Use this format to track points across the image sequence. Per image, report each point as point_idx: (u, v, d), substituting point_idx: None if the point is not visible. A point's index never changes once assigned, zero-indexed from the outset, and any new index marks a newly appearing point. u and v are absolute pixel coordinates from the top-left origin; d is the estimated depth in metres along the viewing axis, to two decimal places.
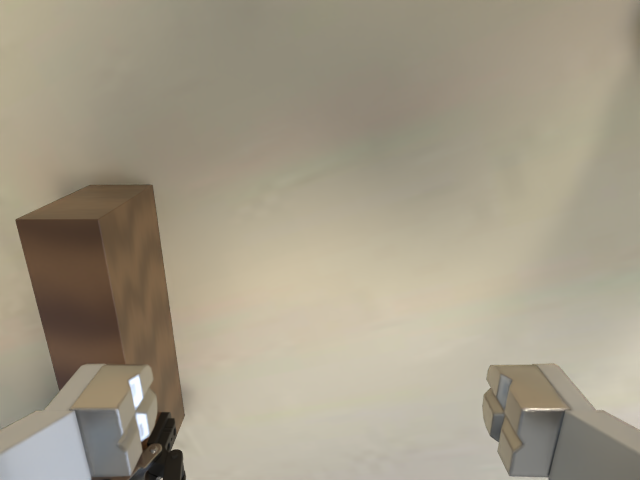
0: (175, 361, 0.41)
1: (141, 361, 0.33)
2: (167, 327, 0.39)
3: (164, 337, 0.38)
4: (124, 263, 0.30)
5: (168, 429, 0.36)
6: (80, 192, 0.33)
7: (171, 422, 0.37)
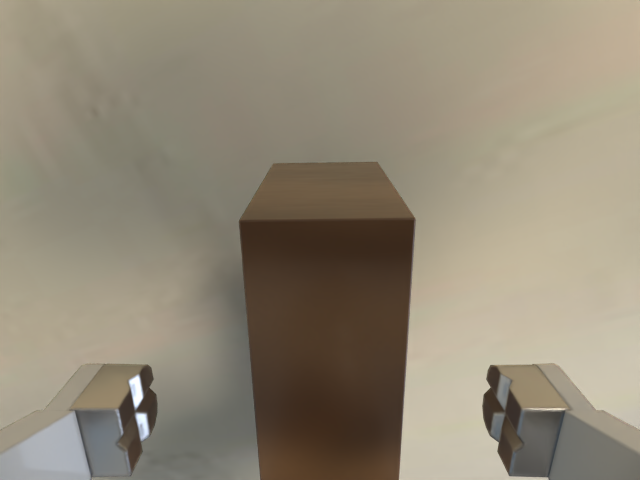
0: None
1: None
2: None
3: None
4: None
5: None
6: (279, 173, 0.19)
7: None
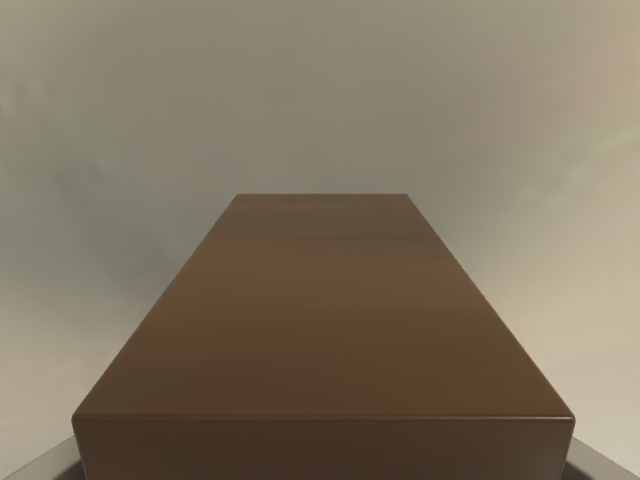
0: None
1: None
2: None
3: None
4: None
5: None
6: (241, 218, 0.11)
7: None
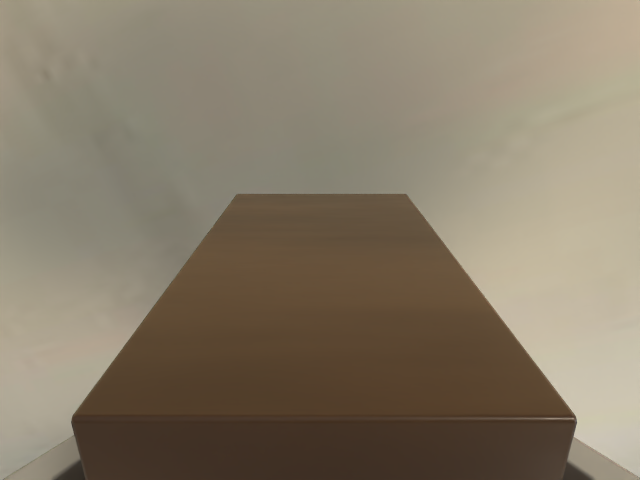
0: None
1: None
2: None
3: None
4: None
5: None
6: (240, 218, 0.11)
7: None
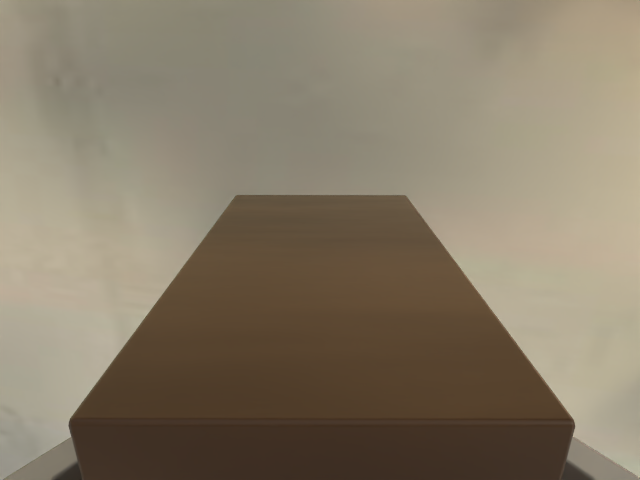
0: None
1: None
2: None
3: None
4: None
5: None
6: (240, 220, 0.11)
7: None
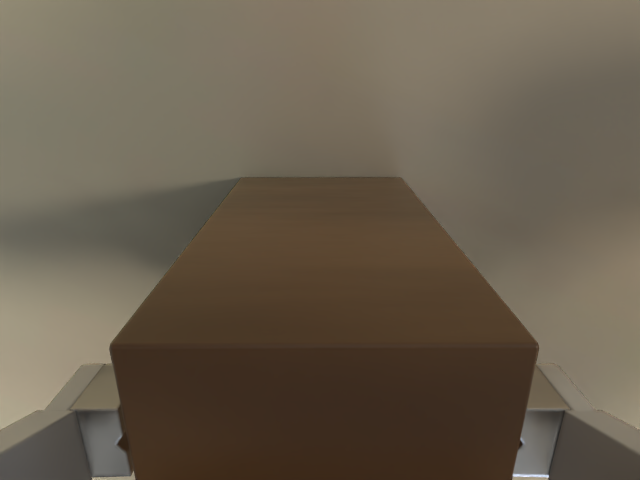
0: None
1: None
2: None
3: None
4: None
5: None
6: (246, 197, 0.11)
7: None
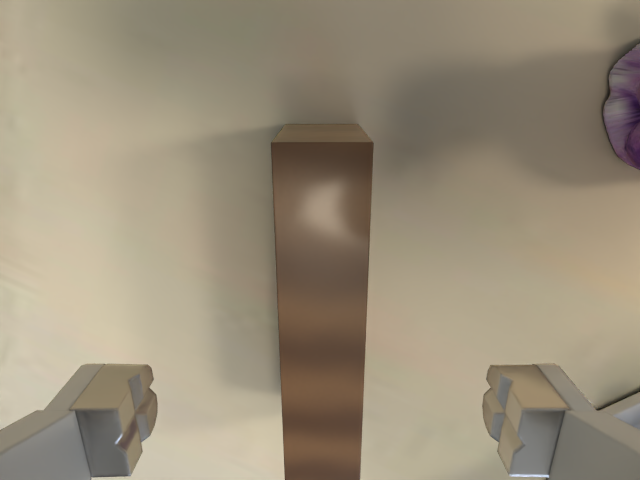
0: None
1: None
2: None
3: None
4: None
5: None
6: (291, 127, 0.28)
7: None
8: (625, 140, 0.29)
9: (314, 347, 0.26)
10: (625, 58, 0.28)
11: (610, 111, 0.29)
